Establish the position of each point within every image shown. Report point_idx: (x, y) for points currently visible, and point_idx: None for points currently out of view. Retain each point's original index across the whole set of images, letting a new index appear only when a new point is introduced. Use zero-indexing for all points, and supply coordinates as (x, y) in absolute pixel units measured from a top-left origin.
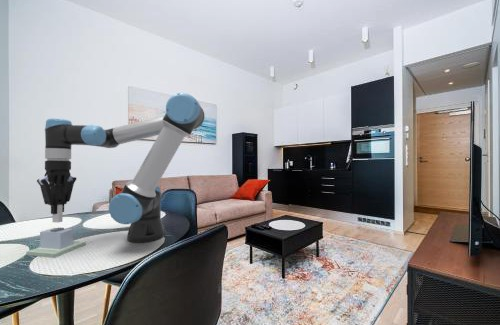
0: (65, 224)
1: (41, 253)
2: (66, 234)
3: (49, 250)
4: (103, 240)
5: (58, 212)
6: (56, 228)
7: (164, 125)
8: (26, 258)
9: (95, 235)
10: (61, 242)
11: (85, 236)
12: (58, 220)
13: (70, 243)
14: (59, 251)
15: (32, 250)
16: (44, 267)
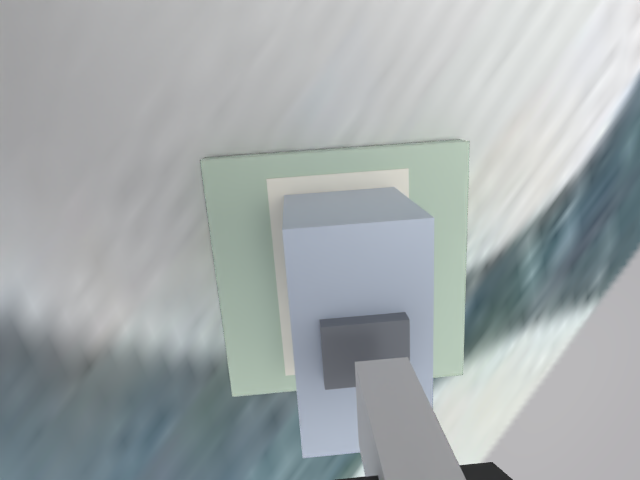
0: None
1: (464, 255)
2: (362, 213)
3: None
4: (66, 100)
5: (454, 459)
6: None
7: None
8: (496, 304)
9: (4, 294)
10: (398, 197)
11: (60, 349)
12: (413, 373)
13: (311, 197)
14: (420, 158)
15: (440, 360)
16: (601, 32)
